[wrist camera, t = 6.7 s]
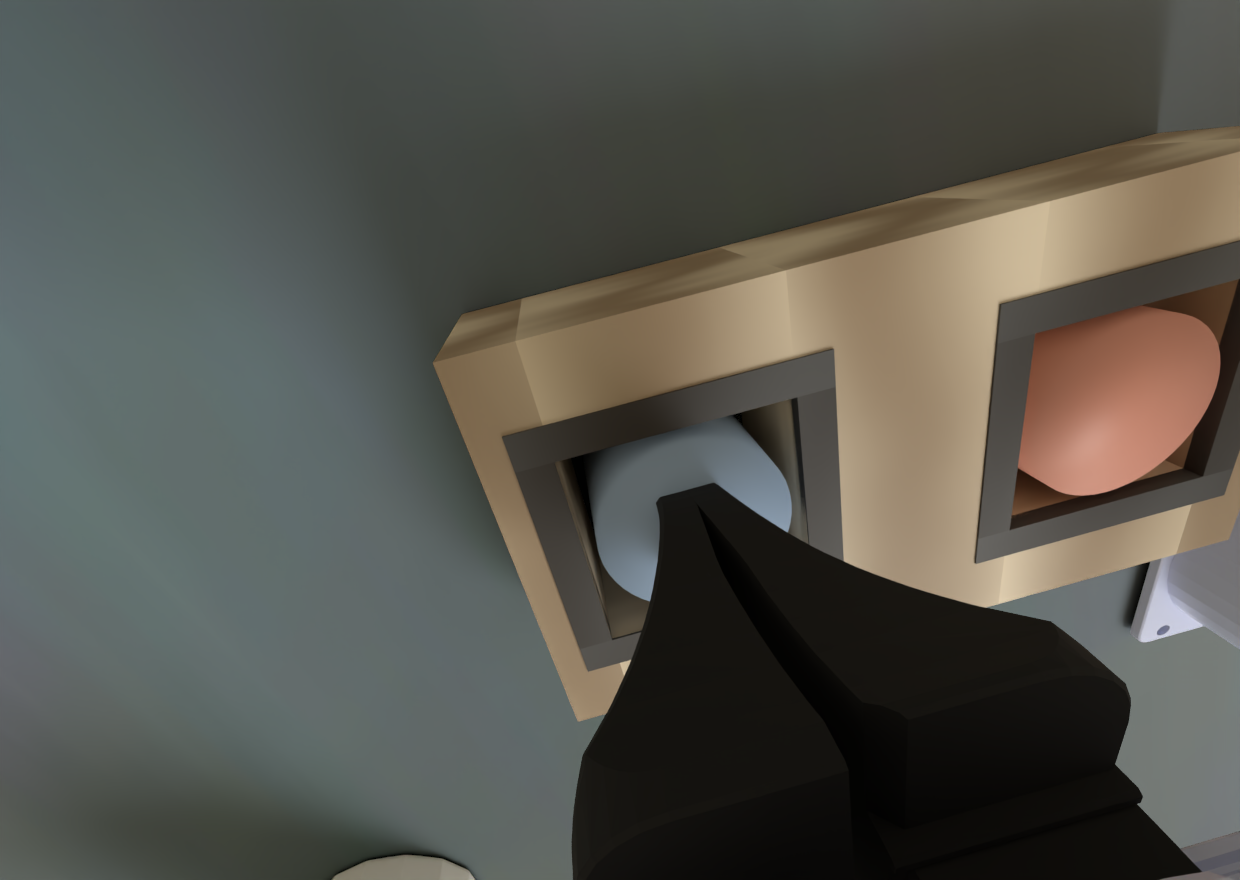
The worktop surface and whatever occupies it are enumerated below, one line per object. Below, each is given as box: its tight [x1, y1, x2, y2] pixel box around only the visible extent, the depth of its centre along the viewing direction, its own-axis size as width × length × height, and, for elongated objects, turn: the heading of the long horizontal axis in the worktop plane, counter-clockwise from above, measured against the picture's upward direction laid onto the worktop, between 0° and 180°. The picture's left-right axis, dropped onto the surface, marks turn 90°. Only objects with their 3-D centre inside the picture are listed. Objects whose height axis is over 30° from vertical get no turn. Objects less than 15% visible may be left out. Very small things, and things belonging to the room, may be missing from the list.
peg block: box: [433, 126, 1240, 721], centre depth 14 cm, size 18×10×4 cm, turn 103°
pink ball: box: [1018, 305, 1220, 496], centre depth 14 cm, size 4×4×4 cm
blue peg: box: [583, 415, 792, 601], centre depth 13 cm, size 4×4×4 cm
